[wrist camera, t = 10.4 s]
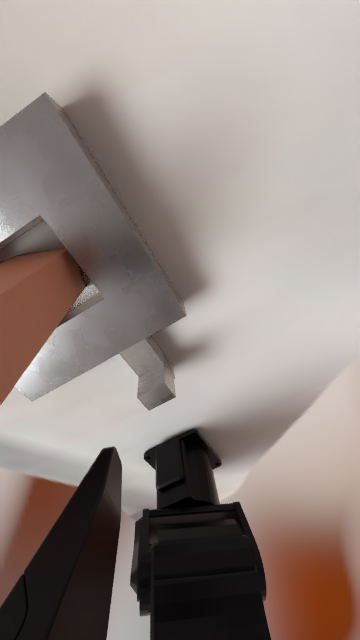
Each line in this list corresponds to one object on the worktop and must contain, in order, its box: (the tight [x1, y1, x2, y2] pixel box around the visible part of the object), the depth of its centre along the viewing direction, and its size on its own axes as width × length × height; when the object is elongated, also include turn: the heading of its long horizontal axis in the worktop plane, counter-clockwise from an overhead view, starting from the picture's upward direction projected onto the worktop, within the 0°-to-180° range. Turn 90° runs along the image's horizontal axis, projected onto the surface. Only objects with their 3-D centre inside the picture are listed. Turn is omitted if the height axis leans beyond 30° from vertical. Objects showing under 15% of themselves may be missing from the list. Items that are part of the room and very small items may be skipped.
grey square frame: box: [0, 92, 186, 401], centre depth 18 cm, size 14×14×2 cm
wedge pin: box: [0, 248, 85, 405], centre depth 13 cm, size 3×4×12 cm
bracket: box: [119, 336, 176, 410], centre depth 21 cm, size 5×2×4 cm, turn 30°
